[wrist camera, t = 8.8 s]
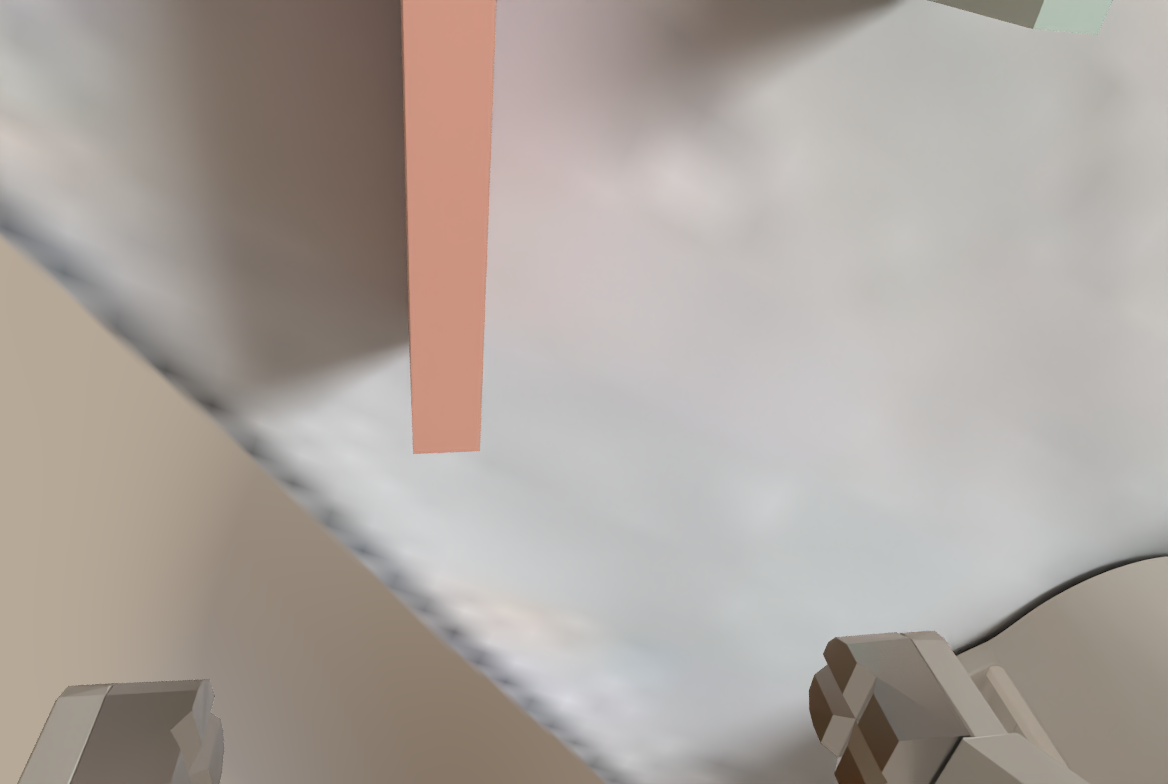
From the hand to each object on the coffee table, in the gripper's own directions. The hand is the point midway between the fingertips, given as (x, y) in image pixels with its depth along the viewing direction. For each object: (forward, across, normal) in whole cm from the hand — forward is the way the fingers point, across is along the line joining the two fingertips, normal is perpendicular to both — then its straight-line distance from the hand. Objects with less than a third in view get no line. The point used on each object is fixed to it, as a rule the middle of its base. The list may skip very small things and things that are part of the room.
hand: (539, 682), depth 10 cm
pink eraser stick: (+12, +1, -6) cm, 13 cm away
